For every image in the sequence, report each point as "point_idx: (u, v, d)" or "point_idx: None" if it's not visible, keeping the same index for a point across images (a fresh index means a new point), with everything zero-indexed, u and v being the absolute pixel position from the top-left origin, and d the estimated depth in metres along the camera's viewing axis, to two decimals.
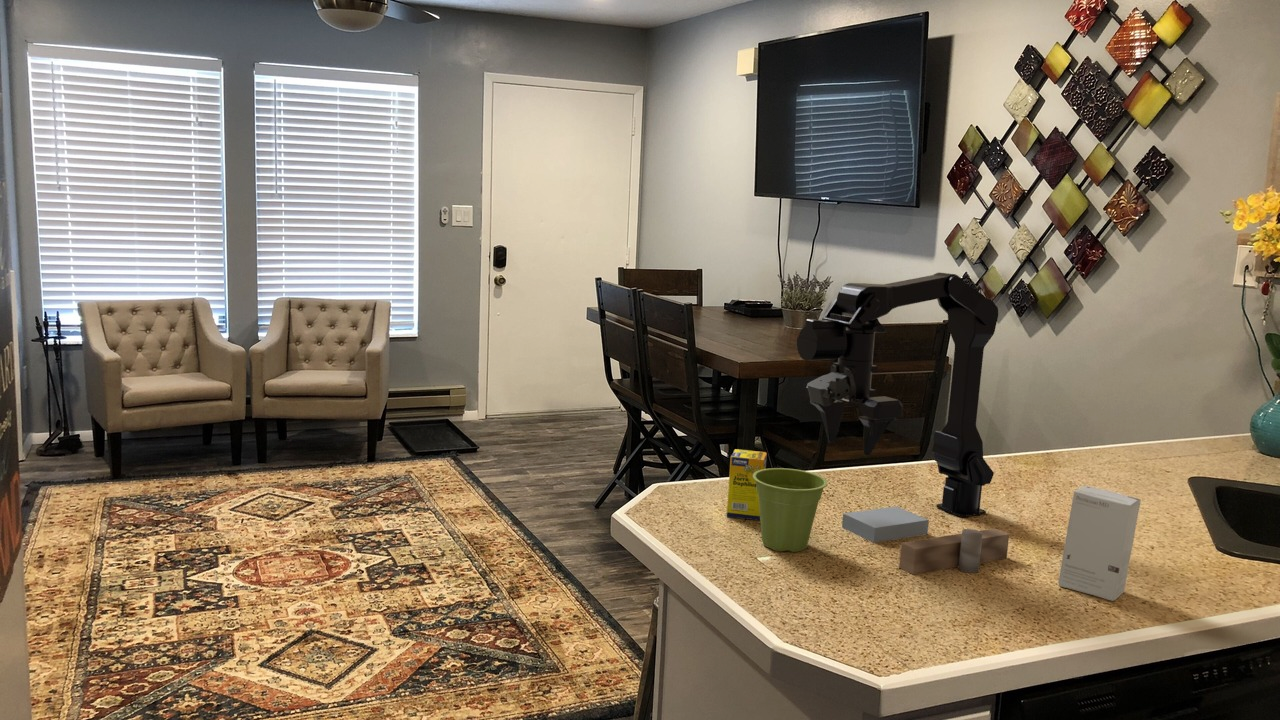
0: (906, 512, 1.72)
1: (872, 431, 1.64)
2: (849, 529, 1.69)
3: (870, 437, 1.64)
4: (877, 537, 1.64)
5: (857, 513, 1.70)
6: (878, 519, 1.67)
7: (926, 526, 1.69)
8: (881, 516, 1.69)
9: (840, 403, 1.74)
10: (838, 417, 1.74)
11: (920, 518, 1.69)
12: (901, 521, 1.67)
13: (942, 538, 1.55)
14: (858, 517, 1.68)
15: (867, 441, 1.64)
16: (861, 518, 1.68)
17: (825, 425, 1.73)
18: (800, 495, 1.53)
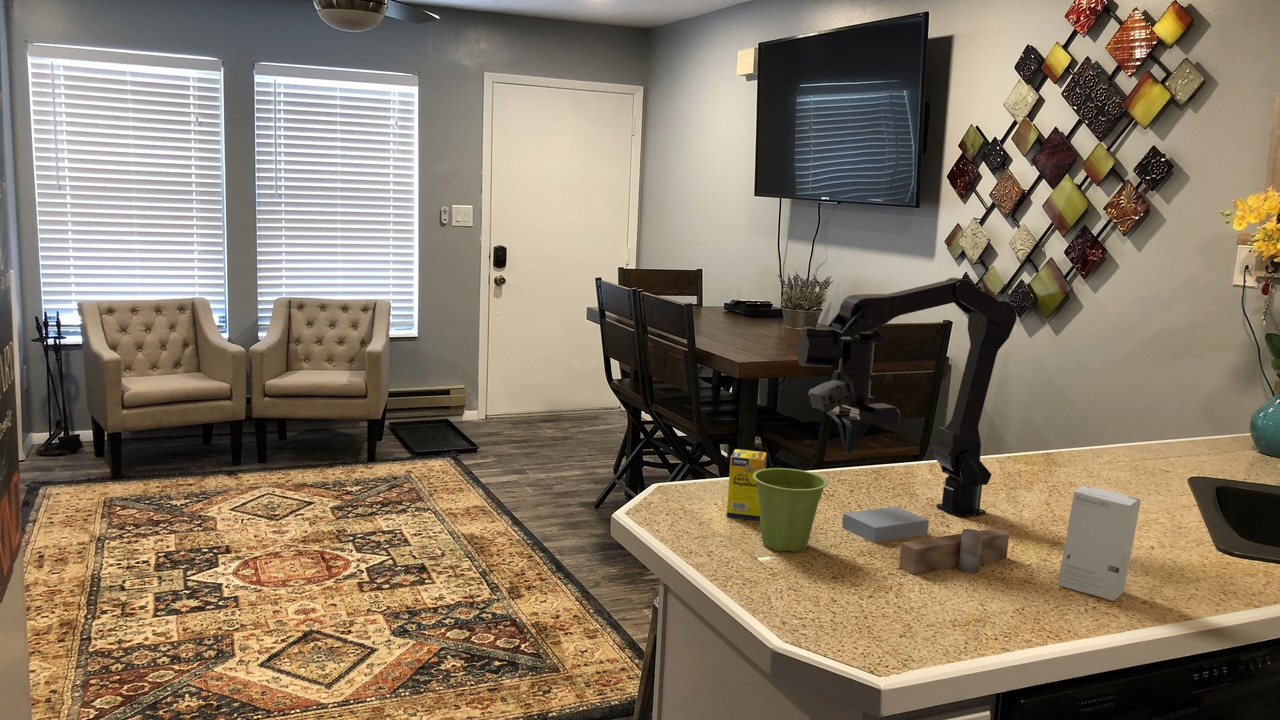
0: (906, 512, 1.72)
1: (854, 431, 1.76)
2: (849, 529, 1.69)
3: (852, 436, 1.76)
4: (878, 537, 1.64)
5: (857, 513, 1.70)
6: (878, 519, 1.67)
7: (926, 526, 1.69)
8: (881, 516, 1.69)
9: None
10: None
11: (920, 518, 1.69)
12: (901, 521, 1.67)
13: (942, 538, 1.55)
14: (858, 517, 1.68)
15: (849, 440, 1.76)
16: (861, 518, 1.68)
17: (842, 436, 1.77)
18: (800, 495, 1.53)
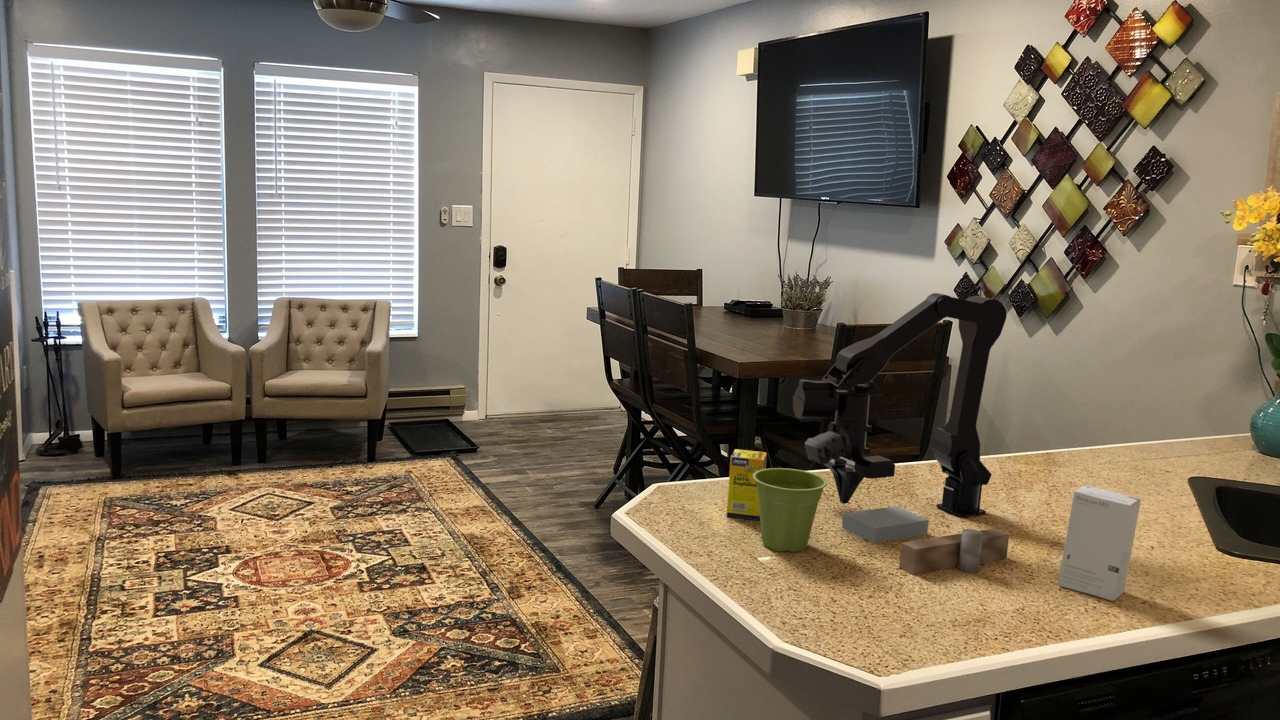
0: (906, 512, 1.72)
1: (849, 482, 1.77)
2: (849, 529, 1.68)
3: (848, 487, 1.77)
4: (878, 537, 1.64)
5: (857, 513, 1.70)
6: (878, 520, 1.67)
7: (926, 526, 1.69)
8: (881, 516, 1.69)
9: None
10: None
11: (920, 518, 1.69)
12: (902, 521, 1.67)
13: (942, 538, 1.55)
14: (858, 517, 1.68)
15: (845, 491, 1.77)
16: (861, 518, 1.67)
17: (837, 486, 1.79)
18: (800, 495, 1.53)
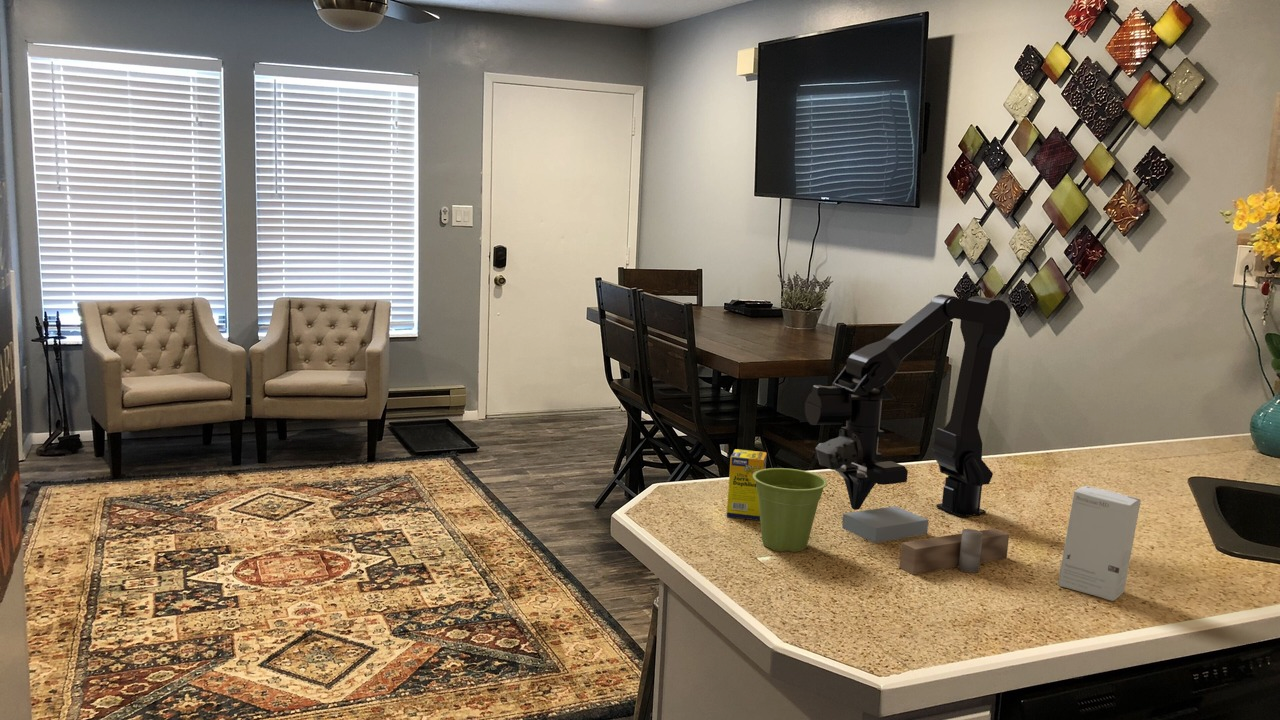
0: (905, 512, 1.72)
1: (861, 487, 1.74)
2: (849, 529, 1.68)
3: (859, 493, 1.74)
4: (878, 537, 1.64)
5: (857, 513, 1.70)
6: (878, 520, 1.67)
7: (926, 526, 1.69)
8: (881, 516, 1.69)
9: None
10: None
11: (920, 518, 1.69)
12: (902, 521, 1.67)
13: (942, 538, 1.55)
14: (858, 517, 1.68)
15: (856, 497, 1.74)
16: (862, 518, 1.67)
17: (849, 492, 1.76)
18: (800, 495, 1.53)
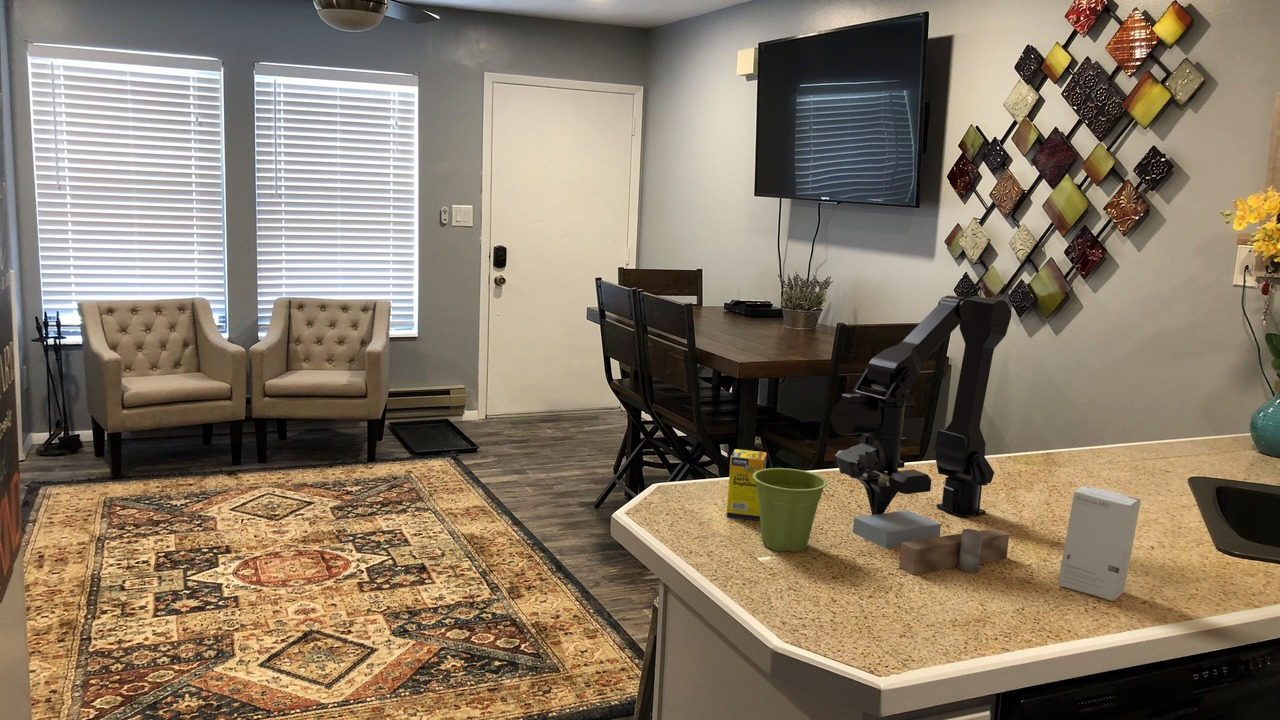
0: (917, 516, 1.70)
1: (883, 496, 1.69)
2: (860, 533, 1.66)
3: (881, 502, 1.69)
4: (889, 542, 1.61)
5: (868, 517, 1.68)
6: (890, 524, 1.65)
7: (938, 531, 1.66)
8: (893, 520, 1.67)
9: None
10: None
11: (932, 522, 1.67)
12: (913, 525, 1.65)
13: (942, 538, 1.55)
14: (869, 521, 1.66)
15: (878, 506, 1.70)
16: (873, 522, 1.65)
17: (870, 501, 1.71)
18: (800, 495, 1.53)
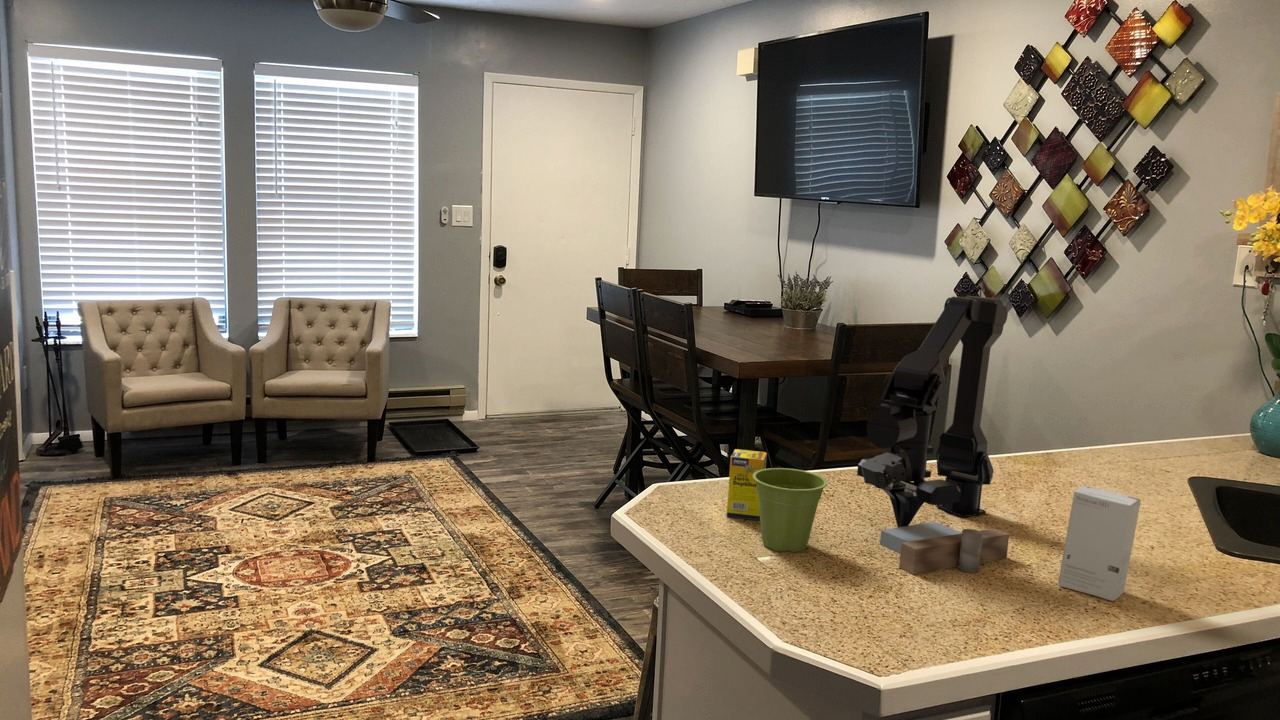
0: (946, 528, 1.65)
1: (909, 507, 1.64)
2: (888, 546, 1.61)
3: (907, 513, 1.64)
4: None
5: (895, 529, 1.63)
6: (918, 536, 1.60)
7: None
8: (921, 533, 1.62)
9: None
10: None
11: None
12: None
13: (942, 538, 1.55)
14: (897, 534, 1.61)
15: (903, 517, 1.64)
16: (901, 535, 1.60)
17: (895, 512, 1.66)
18: (800, 495, 1.53)
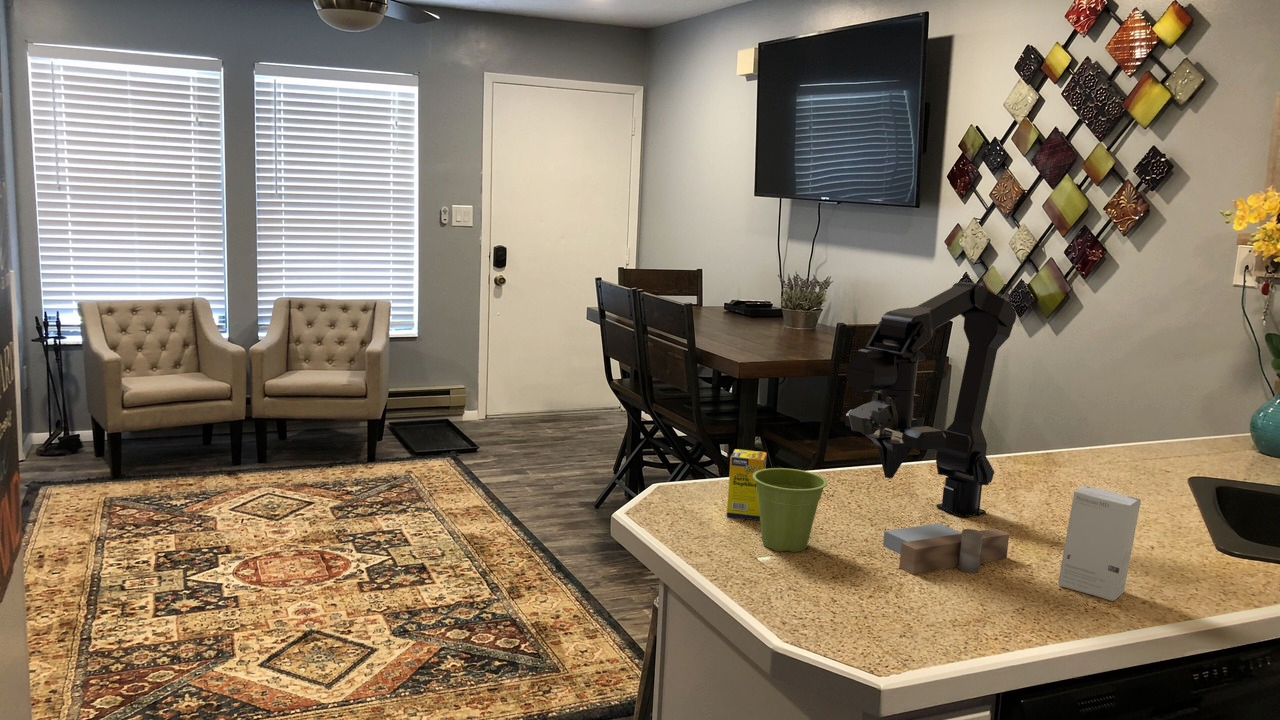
0: (950, 530, 1.64)
1: (895, 455, 1.66)
2: (891, 547, 1.60)
3: (893, 461, 1.66)
4: None
5: (899, 531, 1.62)
6: (921, 538, 1.59)
7: None
8: (925, 534, 1.61)
9: None
10: None
11: None
12: None
13: (942, 538, 1.55)
14: (900, 535, 1.60)
15: (890, 464, 1.66)
16: (904, 536, 1.59)
17: (882, 460, 1.68)
18: (800, 495, 1.53)
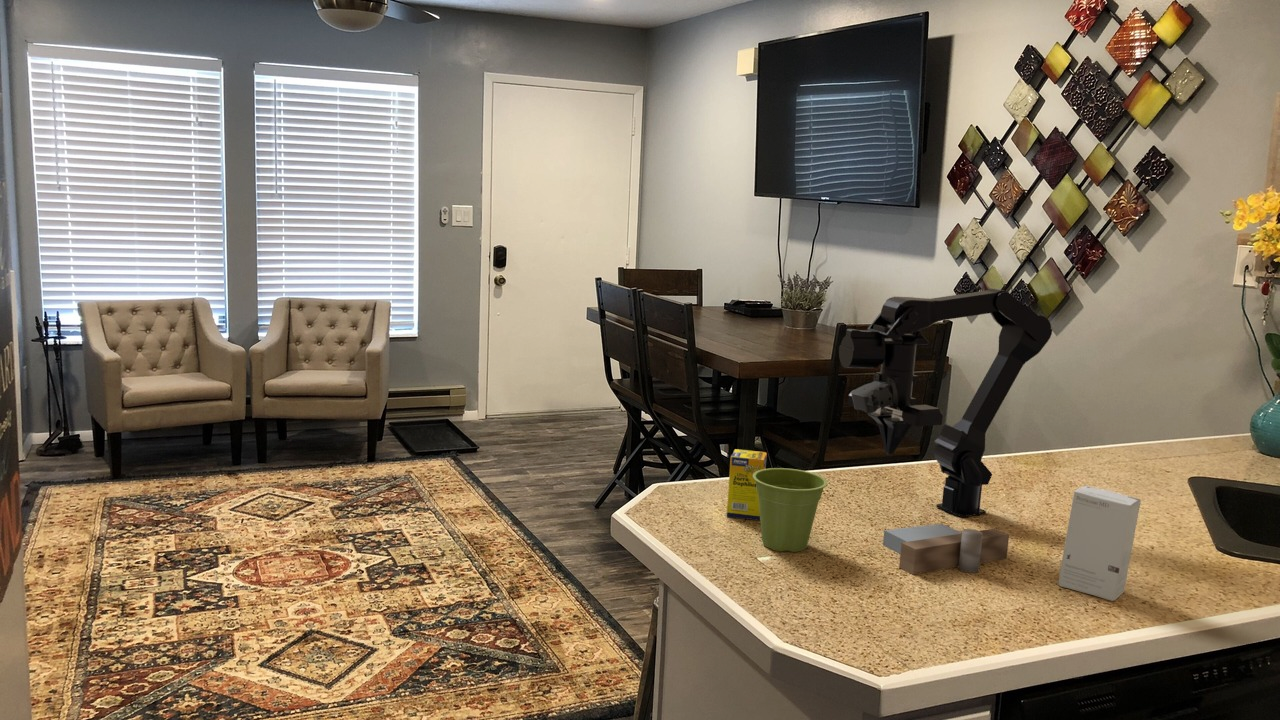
0: (952, 530, 1.63)
1: (895, 432, 1.76)
2: (890, 547, 1.61)
3: (894, 438, 1.76)
4: None
5: (899, 530, 1.62)
6: (921, 537, 1.59)
7: None
8: (925, 534, 1.61)
9: None
10: None
11: None
12: None
13: (942, 538, 1.55)
14: (899, 534, 1.60)
15: (891, 441, 1.76)
16: (903, 536, 1.60)
17: (883, 437, 1.78)
18: (800, 495, 1.53)
